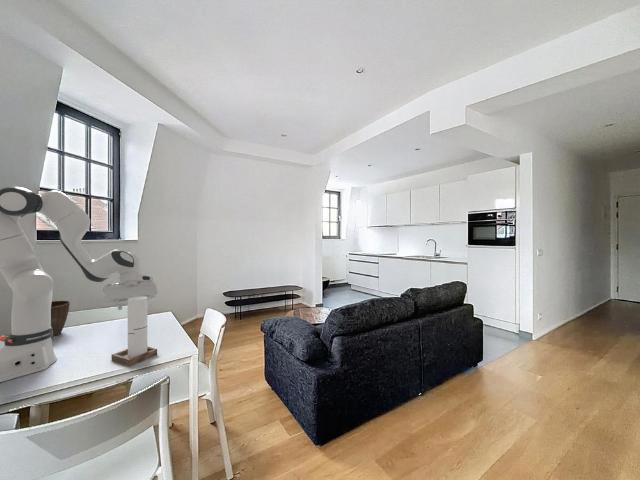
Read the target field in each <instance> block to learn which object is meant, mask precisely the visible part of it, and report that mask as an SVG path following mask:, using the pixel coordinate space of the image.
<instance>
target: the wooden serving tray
mask: <svg viewBox="0 0 640 480" xmlns="http://www.w3.org/2000/svg"><path fill="white" fill-rule="evenodd" d="M155 356H158V348H155V347H151V346H148V345H147V352H146V353H144V354H141V355H139V356H136V357H134V358H131V359H129V358H128V348H126V349H123V350H121V351H117V352H114V353H113V354H112V353H111V361H112V362H115V363H118V364H121V365H124V366H127V367H131V366H134V365H136V364H138V363H140V362H143V361H145V360H147V359H151V358H153V357H155Z"/></svg>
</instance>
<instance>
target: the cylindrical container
mask: <svg viewBox="0 0 640 480" xmlns="http://www.w3.org/2000/svg"><path fill="white" fill-rule="evenodd" d="M147 346H148V302H147V297H144V296H140V297H132V298H129V299H128V301H127V349H128V358H129V359H131V358H134V357H136V356H139V355H141V354H144V353H146V352H147Z"/></svg>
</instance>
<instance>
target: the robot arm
mask: <svg viewBox="0 0 640 480" xmlns="http://www.w3.org/2000/svg"><path fill="white" fill-rule="evenodd" d="M34 213H39V214H42V215H43V216H45V217H46V218H47V219H48V220H49V221H50V222H52V224H54V226H55V227H56V228H57V229H58V232H59V237H58V238H59V241H60V242H61V244H62V246H63V247H64V249H65V250H66V251H67V252H68V254H69V255H70V256H71V257H72V259H73V260H74V262H76V264H77V265H78V267H80V268H81V271H82V272H83V275H84V276H85V278H86V279H87V280H89V281H90V282H96V283H103V282H104V281H106V280H107V279H108V278H110V277H112V276H114V275H115V274H118V275H119V278H118V279H119V283H118V282H117V283H108V284H106V285H104V286H103V287H102V288H103V289H102V290H103V292H104V297H103V299H104V300H103V301H104V302H105V304H113V303H114V305H115V307H117V310H118V311H121V310H123V304H120V303H122V302H128V299H129V298H132V297H140V296H144V297H147V303H148V302H149V301H150V299H155V298H157V296H158V288H157V285H156V283H155V282H154V280H153V276H148V275H144V274H141V269H142V268H141V263H140V260H139V257H138V255H137V254H135V253H133V252H127V251H124V250H120V249H113V250H111V251H109V252H107V253H105V254H104V255H102V256H101V257H98V258H96V259H94V258H92V257H91V255H89V253H88V252H87V250H86V249H85V247H84V246H83V245H82V239H83V237H84V236H85V234H86V233H87V232H88V230H89V229H90V227H91V218H90V216H89V215H88V213H86V211H85V210H83V208H81V207H80V205H79V204H78V203H77V202H75V201H74V200H73V199H72V198H71V197H69V196H68V195H66V194H65V193H64V192H62V191H60V190H48V191H45V192H43V193H36V192H34V191H33V190H31V189H28V188H25V187H23V186H19V185H17V186H15V185H14V186H13V185H12V186H5V187H2V188H1V189H0V272H1V274H2V276H3V278H4V280H5V281H6V283H7V285H8V286H9V288H10V289H11V291H12V304H11V314H10V315H11V316H10V317H11V318H10V320H11V333H10V334H8V335H1V336H0V342H2V343H4V345H3V346H1V347H0V383H2V382H6V381H9V380H14V379H16V378H19V377H20V378H21V377H23V376H27V375H30V374H31V375H32V374H33V373H34V374H35V373H37V372H41V371H45V370H47V369H48V368H49V366H51V365H53V364H54V363H55V362H56V361H57V356H56V354H55V351H54V346H53V342H52V341H53V337H54V336H53V330H52V327H51V303H52V301H53V293H54V280H53V278H52V276H51V275H50V274H48V273H46V272H45V271H44V269H43V267H42V264H41V263H40V261H39V258H38V256H37V253H36V251H35V249H34V247H33V245H32V244H31V242H30V240H29V238H28V237H27V234H26V233H25V231H24V229H23V228H22V226H21V223H20V219H21V218H23V217H25V216H27V215H30V214H34Z"/></svg>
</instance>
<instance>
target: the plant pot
mask: <svg viewBox="0 0 640 480" xmlns="http://www.w3.org/2000/svg"><path fill="white" fill-rule="evenodd" d="M70 304H71V301H69V300H54V301H53V300H52V303H51V327H52V330H53V337H54V336H58V335H60V334H61V333H62V332H63V331H64V330H63V329H64V327H65V325H66V322H67V318H68V315H69V312H70V311H69V310H70Z"/></svg>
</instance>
